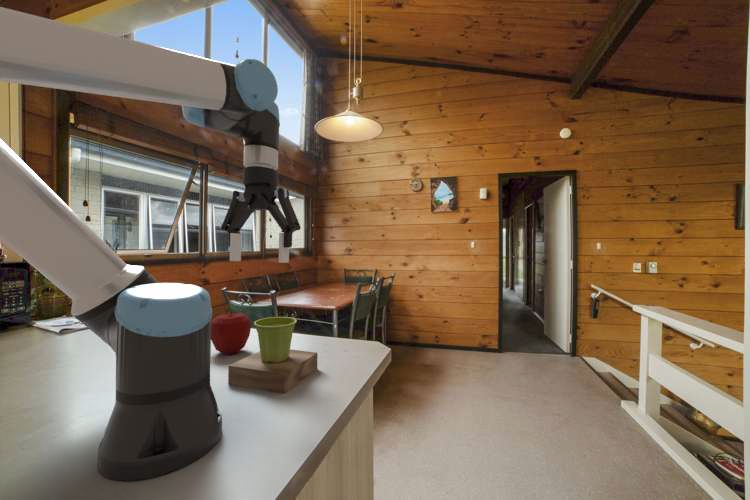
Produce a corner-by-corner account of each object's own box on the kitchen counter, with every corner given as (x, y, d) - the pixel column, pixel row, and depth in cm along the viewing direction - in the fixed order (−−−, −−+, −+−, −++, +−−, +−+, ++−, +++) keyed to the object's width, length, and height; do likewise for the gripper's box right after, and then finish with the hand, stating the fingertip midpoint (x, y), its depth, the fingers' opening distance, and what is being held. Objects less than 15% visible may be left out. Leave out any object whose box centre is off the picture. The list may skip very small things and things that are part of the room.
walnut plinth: (284, 393, 64) (284, 373, 64) (228, 384, 68) (228, 365, 68) (317, 368, 77) (317, 352, 77) (268, 362, 81) (268, 346, 81)
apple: (238, 344, 96) (238, 306, 96) (258, 351, 90) (259, 310, 90) (201, 353, 87) (201, 311, 87) (221, 362, 81) (221, 316, 81)
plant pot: (304, 358, 73) (304, 321, 73) (266, 369, 66) (266, 328, 66) (282, 349, 79) (283, 315, 79) (246, 358, 72) (246, 321, 72)
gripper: (317, 169, 71) (315, 263, 71) (231, 176, 80) (228, 260, 79) (298, 160, 64) (295, 263, 64) (206, 169, 73) (203, 260, 72)
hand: (258, 262), depth 72 cm, fingers open, 13 cm apart
